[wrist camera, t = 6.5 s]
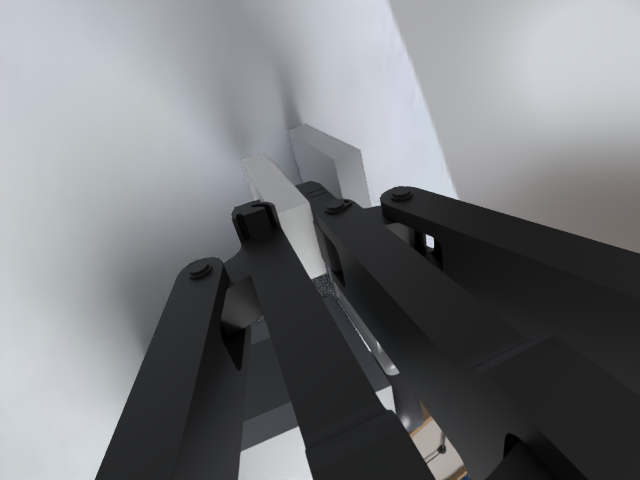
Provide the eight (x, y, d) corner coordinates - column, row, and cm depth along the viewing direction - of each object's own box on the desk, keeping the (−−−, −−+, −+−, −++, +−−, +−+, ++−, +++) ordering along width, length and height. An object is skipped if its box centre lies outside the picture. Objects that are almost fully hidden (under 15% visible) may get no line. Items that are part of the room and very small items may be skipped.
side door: (284, 130, 18) (336, 163, 12) (317, 119, 19) (384, 146, 12) (332, 294, 24) (386, 378, 17) (357, 283, 24) (419, 363, 17)
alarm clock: (505, 444, 34) (384, 565, 31) (464, 407, 38) (353, 510, 35) (488, 373, 28) (337, 511, 25) (442, 339, 33) (306, 453, 29)
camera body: (200, 451, 26) (205, 609, 18) (146, 363, 22) (124, 522, 14) (380, 373, 29) (449, 483, 21) (364, 282, 24) (444, 378, 17)
